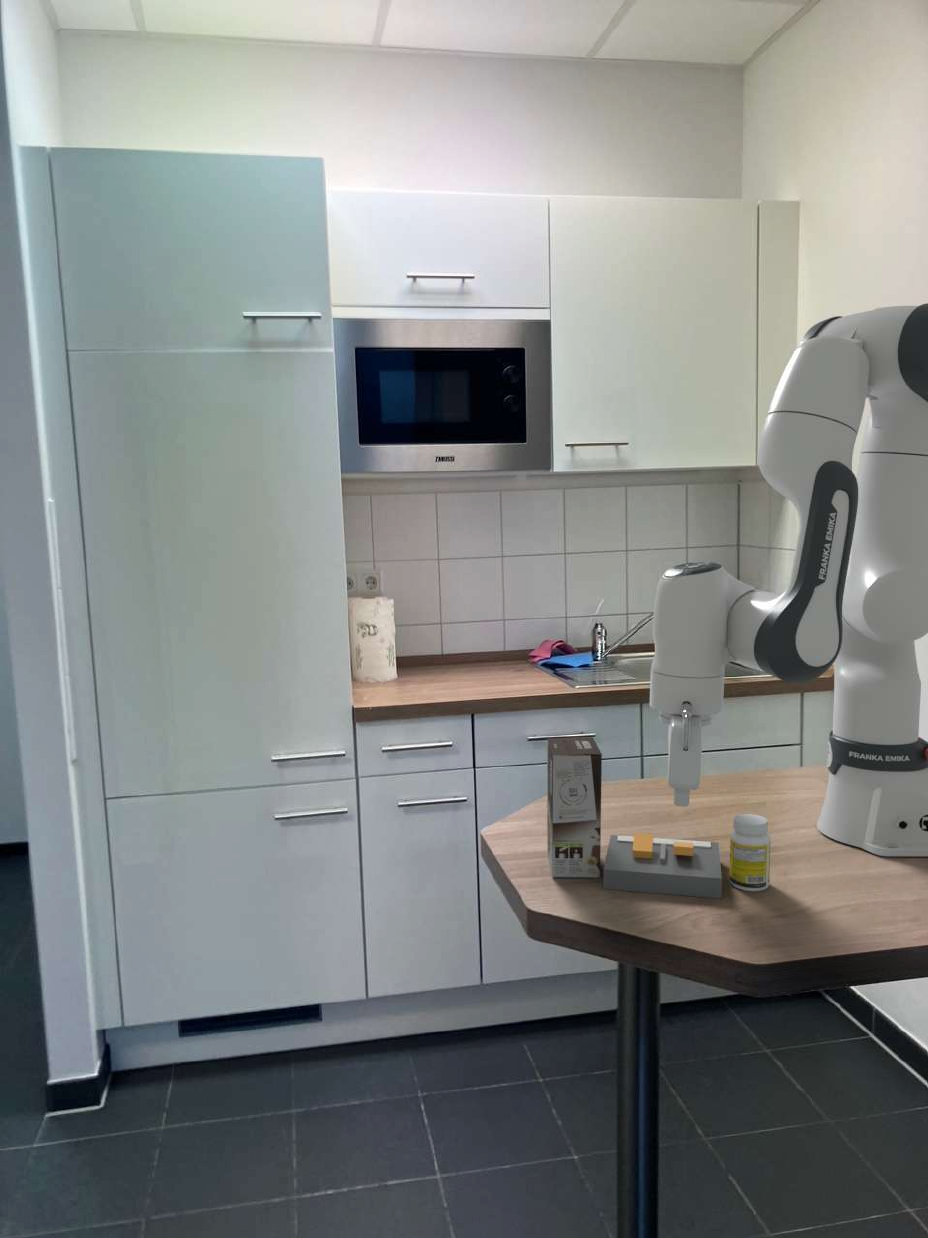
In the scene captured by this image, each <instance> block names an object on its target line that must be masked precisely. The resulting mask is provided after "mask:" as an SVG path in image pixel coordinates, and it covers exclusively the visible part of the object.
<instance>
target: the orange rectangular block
mask: <svg viewBox="0 0 928 1238" xmlns="http://www.w3.org/2000/svg"><path fill="white" fill-rule="evenodd" d="M673 854H674V855H687V856H693V843H687V842H674V848H673Z"/></svg>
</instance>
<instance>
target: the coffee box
mask: <svg viewBox="0 0 928 1238" xmlns="http://www.w3.org/2000/svg"><path fill="white" fill-rule="evenodd" d="M546 747H547V748H546V783H547V784H546V790H547V791H546V793H547V794H546V796H547V797H546V800H547V801H546V804H547V805H546V806H547V807H546V808H547V812H546V813H547V814H546V815H547V818H546V819H547V821H546V824H547V857H548V861H549V866H550V872H551V877H552V878H586V879H587V878H589V879H593V878H595V879H599V878H600V877H601V845H602V844H601V843H602V842H601V839H602V838H601V837H602V835H601V833H602V832H601V831H602V827H601V826H602V825H601V824H602V772H603V771H602V768H603V767H602V765H603V763H602V761H603V759H602V758H603V754H602V752H601V750H600V748H599V746H598V745H597V742H596V741H595V739H594V738H593V737H590V736H589V737H588V736H578V737H577V736H574V737H573V736H571V737H561V738H560V737H559V738H558V737H555V738H554V737H553V738H551V737H550V738H549V737H548V738H546Z"/></svg>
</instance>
